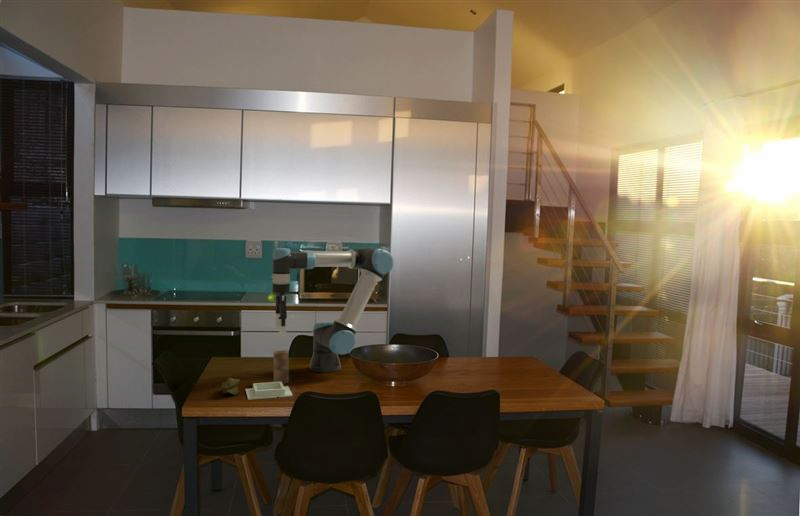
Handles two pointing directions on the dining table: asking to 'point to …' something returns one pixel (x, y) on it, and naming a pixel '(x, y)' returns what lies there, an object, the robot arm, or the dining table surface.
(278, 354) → the wooden square post
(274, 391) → the holder plate
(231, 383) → the fruit
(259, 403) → the dining table surface
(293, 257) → the robot arm
